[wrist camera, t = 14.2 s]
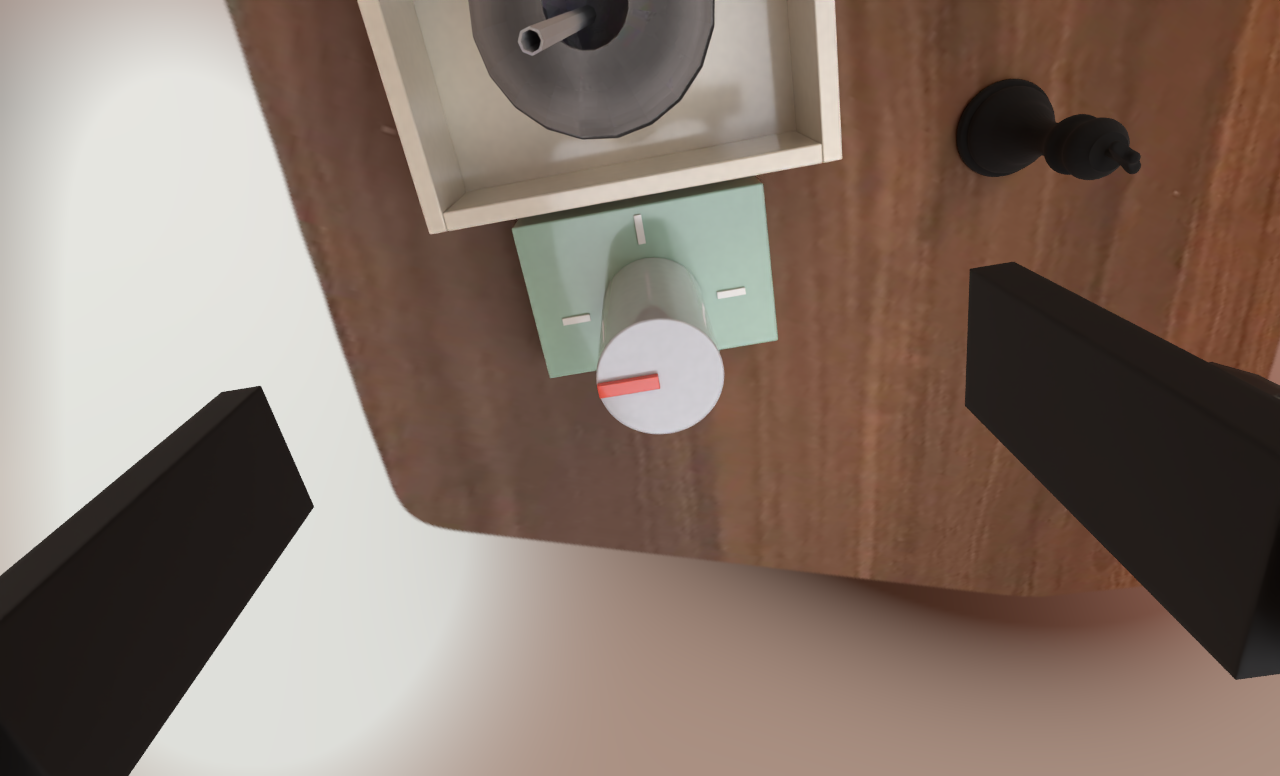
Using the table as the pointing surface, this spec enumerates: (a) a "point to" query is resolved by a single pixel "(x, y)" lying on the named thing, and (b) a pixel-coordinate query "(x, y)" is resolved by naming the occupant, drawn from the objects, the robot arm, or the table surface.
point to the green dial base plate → (643, 228)
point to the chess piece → (1038, 135)
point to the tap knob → (657, 349)
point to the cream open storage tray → (616, 167)
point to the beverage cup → (593, 59)
